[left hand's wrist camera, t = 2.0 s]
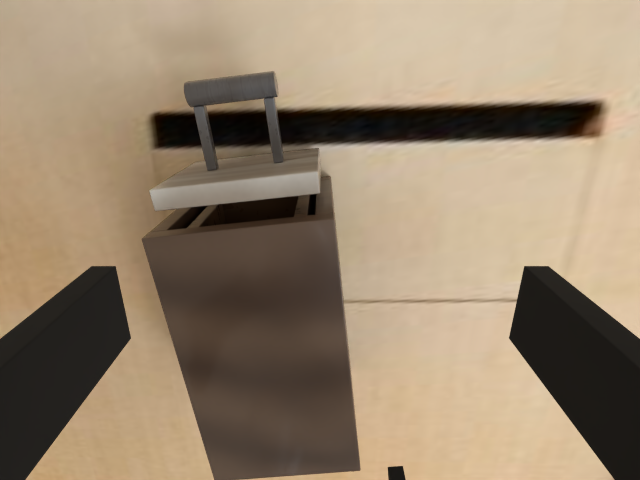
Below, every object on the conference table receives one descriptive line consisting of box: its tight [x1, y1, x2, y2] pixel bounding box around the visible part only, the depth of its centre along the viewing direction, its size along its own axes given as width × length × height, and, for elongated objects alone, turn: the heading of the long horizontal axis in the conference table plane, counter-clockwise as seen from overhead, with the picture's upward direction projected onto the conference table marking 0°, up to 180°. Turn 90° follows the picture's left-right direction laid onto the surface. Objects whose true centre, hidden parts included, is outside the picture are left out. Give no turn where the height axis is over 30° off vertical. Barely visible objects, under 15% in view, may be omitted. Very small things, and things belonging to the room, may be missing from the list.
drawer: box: [149, 71, 321, 228], centre depth 26 cm, size 22×9×8 cm, turn 6°
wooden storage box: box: [142, 176, 360, 480], centre depth 28 cm, size 18×10×10 cm, turn 6°
